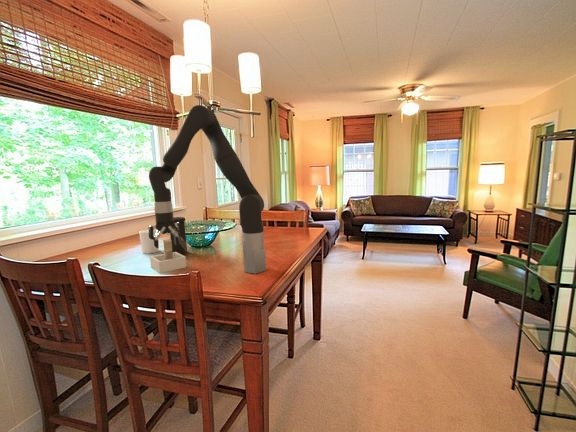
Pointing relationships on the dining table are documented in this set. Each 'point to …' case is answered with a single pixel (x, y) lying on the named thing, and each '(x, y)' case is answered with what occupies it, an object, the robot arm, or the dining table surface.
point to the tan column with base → (168, 249)
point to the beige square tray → (167, 262)
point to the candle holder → (147, 242)
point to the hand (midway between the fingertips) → (166, 246)
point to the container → (182, 244)
